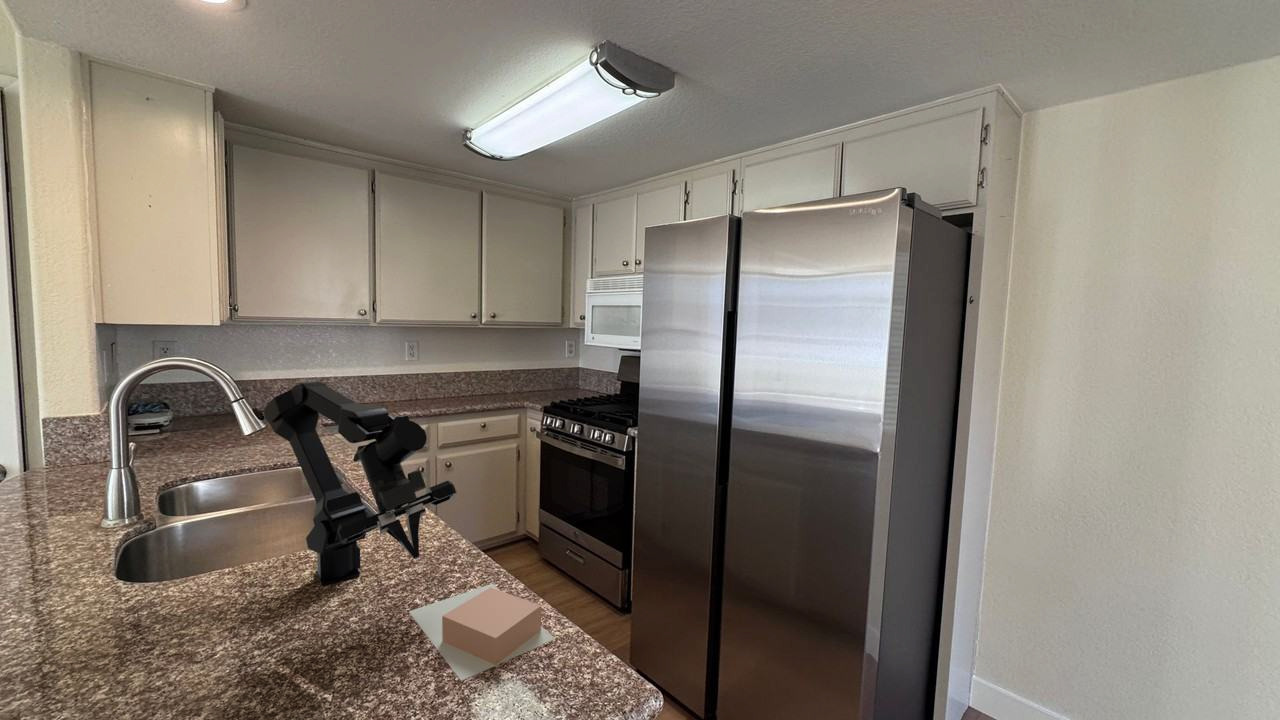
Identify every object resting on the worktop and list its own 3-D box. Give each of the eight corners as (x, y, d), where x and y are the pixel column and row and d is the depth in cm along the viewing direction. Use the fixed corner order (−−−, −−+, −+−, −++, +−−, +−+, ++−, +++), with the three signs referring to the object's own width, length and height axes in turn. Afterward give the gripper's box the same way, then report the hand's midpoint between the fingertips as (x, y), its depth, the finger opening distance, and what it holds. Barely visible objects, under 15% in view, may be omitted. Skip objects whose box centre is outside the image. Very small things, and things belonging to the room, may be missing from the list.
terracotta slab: (442, 615, 79) (495, 638, 74) (490, 587, 88) (541, 605, 82) (442, 641, 79) (495, 665, 74) (490, 610, 88) (541, 629, 83)
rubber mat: (461, 684, 71) (461, 680, 71) (408, 614, 87) (408, 611, 87) (555, 641, 81) (555, 638, 80) (492, 586, 97) (492, 583, 97)
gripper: (323, 485, 80) (357, 583, 77) (444, 442, 90) (478, 526, 87) (326, 499, 89) (356, 587, 86) (436, 458, 99) (466, 535, 96)
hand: (416, 558), depth 88 cm, fingers closed
